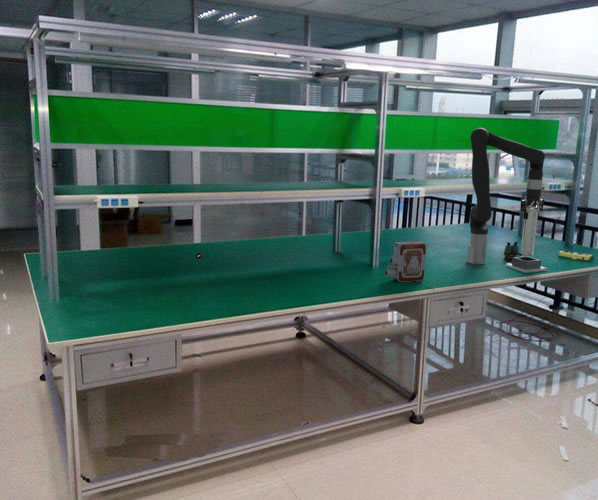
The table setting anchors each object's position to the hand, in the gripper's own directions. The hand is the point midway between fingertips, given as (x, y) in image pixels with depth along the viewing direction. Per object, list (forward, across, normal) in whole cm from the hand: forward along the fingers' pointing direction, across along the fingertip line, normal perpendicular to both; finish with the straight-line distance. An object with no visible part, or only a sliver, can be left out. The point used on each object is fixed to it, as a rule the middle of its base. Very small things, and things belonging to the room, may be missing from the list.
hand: (530, 218), depth 299 cm
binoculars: (+28, +7, +18) cm, 34 cm away
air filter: (+20, 0, 0) cm, 20 cm away
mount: (+28, 0, 0) cm, 28 cm away
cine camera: (+28, -78, -1) cm, 83 cm away
